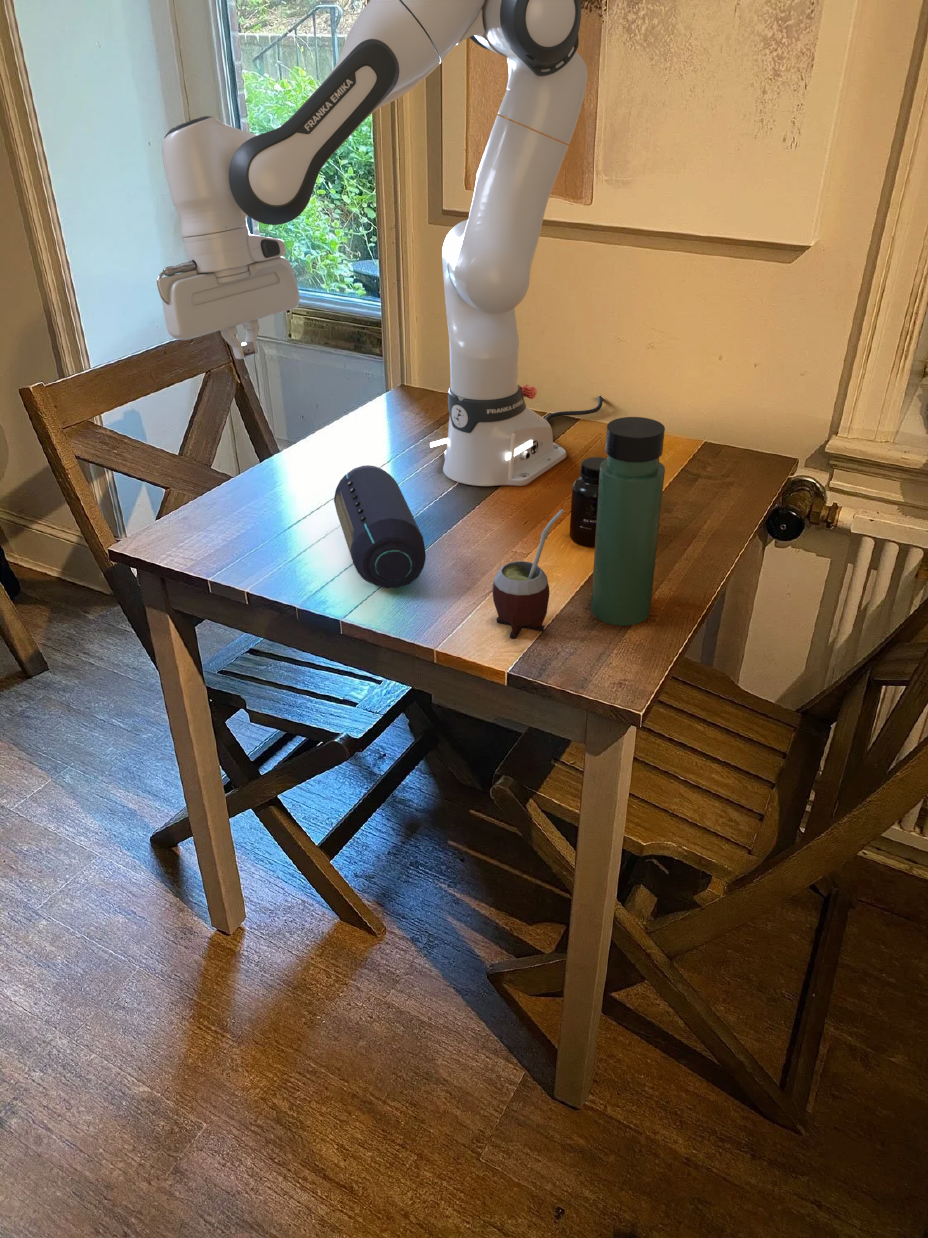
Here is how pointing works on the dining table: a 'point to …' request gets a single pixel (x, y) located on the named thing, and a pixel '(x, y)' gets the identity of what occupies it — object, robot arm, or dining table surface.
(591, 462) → the supplement bottle
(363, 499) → the portable speaker
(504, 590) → the mate gourd
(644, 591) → the thermos
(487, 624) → the dining table surface
